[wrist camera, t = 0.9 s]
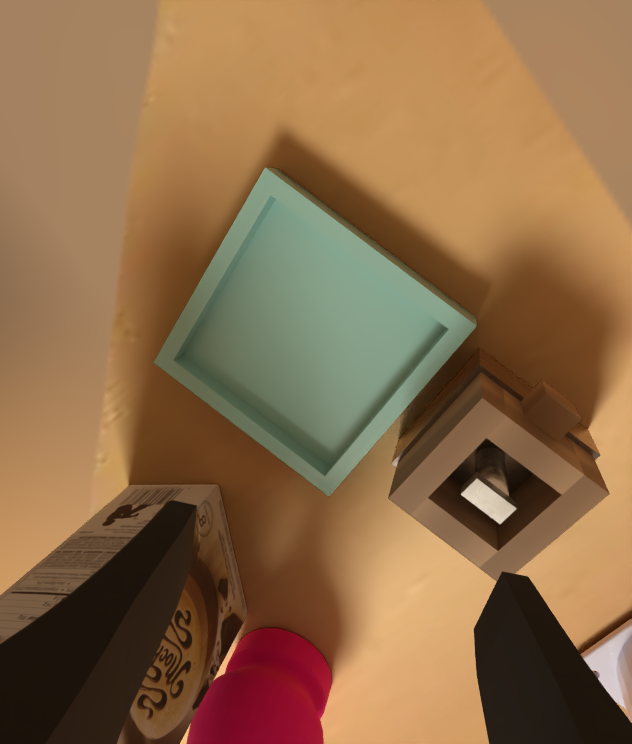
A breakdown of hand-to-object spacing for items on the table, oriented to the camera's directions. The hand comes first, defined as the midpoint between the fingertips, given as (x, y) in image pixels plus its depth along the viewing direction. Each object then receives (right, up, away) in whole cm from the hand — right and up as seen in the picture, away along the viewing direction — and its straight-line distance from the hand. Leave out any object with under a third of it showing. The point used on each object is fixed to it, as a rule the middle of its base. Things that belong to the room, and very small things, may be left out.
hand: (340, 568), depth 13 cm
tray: (-1, +6, +14) cm, 15 cm away
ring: (+7, +1, +10) cm, 13 cm away
